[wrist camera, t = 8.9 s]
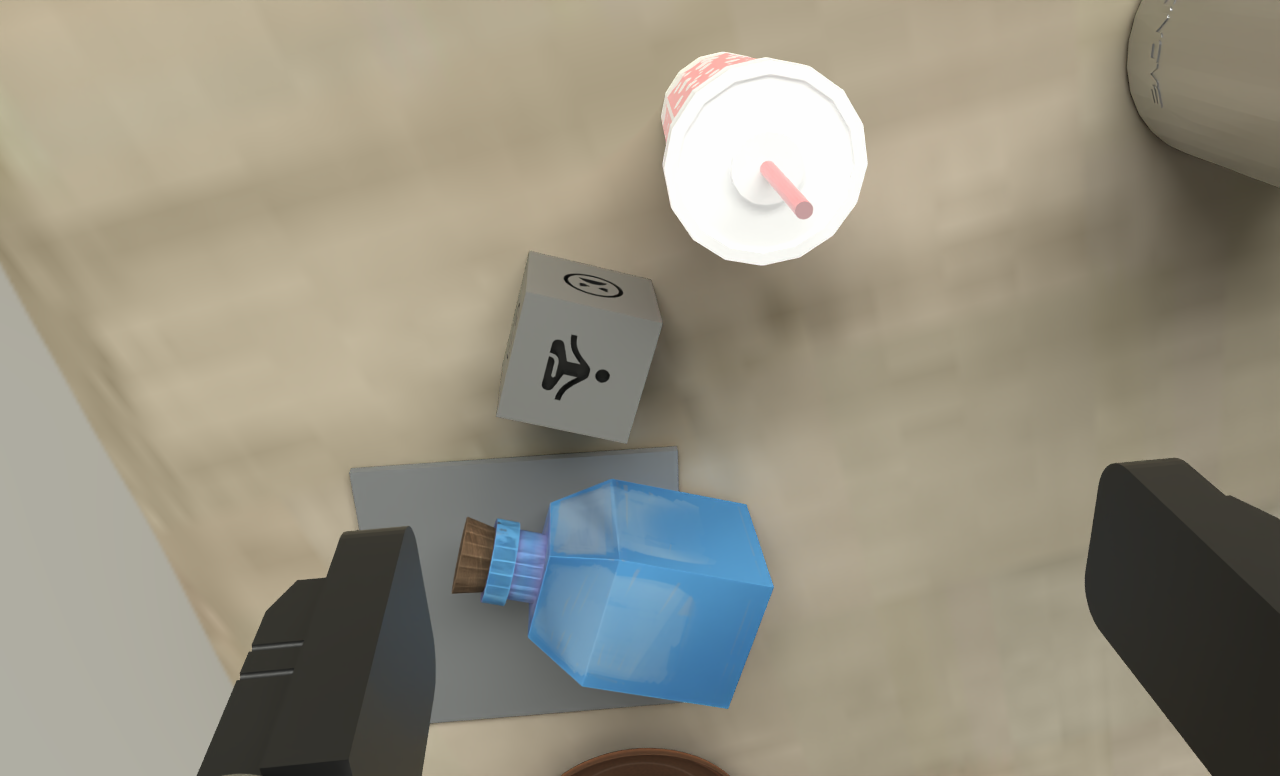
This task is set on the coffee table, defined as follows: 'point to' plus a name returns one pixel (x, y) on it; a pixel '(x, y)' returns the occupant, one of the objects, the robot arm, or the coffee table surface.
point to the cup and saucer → (646, 764)
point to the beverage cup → (760, 156)
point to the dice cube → (579, 348)
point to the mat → (464, 626)
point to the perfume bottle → (631, 588)
